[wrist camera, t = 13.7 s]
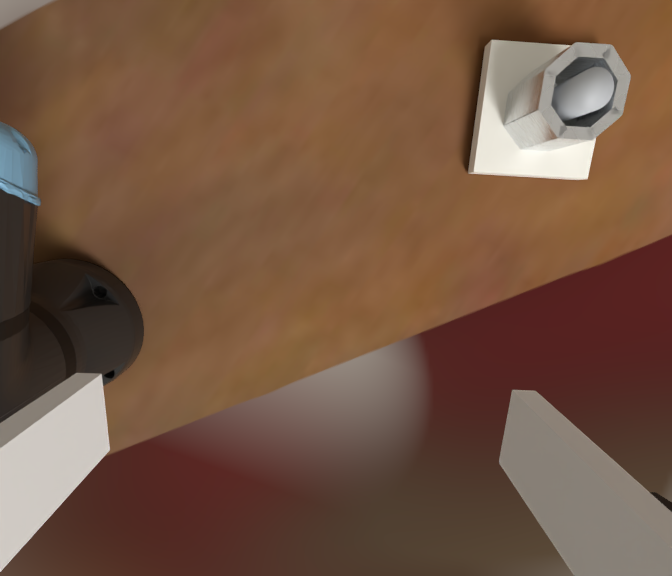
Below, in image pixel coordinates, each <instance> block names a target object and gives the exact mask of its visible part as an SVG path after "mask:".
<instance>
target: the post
mask: <svg viewBox="0 0 672 576" xmlns="http://www.w3.org/2000/svg"><path fill="white" fill-rule="evenodd" d="M569 46H571V45H558V44H545V43H531V42H517V41H503V40H491V41H490V42H489V43H488V44H487V45H486V46H485V50H484V57H483V65H482V72H481V79H480V87H479V94H478V102H477V109H476V117H475V124H474V132H473V139H472V147H471V154H470V162H469V169H468V173H469V174H486V175H502V176H519V177H536V178H552V179H569V180H582V179H587V178H588V174H589V169H590V164H591V159H592V154H593V150H594V145H595V140H596V138H594V139H593V140H591V141H587V142H583V143H579V144H575V145H571V146H567V147H564V148H560V149H556V150H552V151H535V150H520V149H519V147H518V146H517V145H516V143H515V142H514V140H513V139H512V138H511V136H510V135H509V133H508V132H507V131H506V129H505V128H504V125H503V123H504V116H505V110H506V103H507V96H508V93H509V92H510V91H511V90H512V89H513V88H514V87H515V86H516V85H518V84H519V83H520V82H521V81H522V80H523V79H524V78H525V77H526V76H528V75H529V74H530V73H531V72H532V71H533V70H535V69H536V68H538V67H539V66H541V65H542V64H544V63H545V62H547V61H548V60H550V59H551V58H553V57H554V56H556V55H557V54H559V53H560V52H562V51H563V50H565V49H566V48H568V47H569ZM613 91H614V80H613V77H612V75H611V74H610V72H609V71H608V70H606V69H604V68H602V67H593V68H590V69H588V70H586V71H584V72H582V73H580V74H578V75H576V76H574V77H572V78H571V79H569V80H567V81H565V82H563V83H561V84H559V85H557V84H555V85H554V91H553V96H552V102H551V106H552V107H553V109H554V110H555V112H556V113H557V115H558V116H559V117H560V119H561V120H562V122H563V123H564V125H565V121H568V120H571V119H574V118H576V117H579V116H582V115H585V114H587V113H590V112H593V111H596V110H598V109H600V108H602V107H604V106H605V105H606V104H607V103H608V102H609V100H610V99H611V97H612V94H613Z"/></svg>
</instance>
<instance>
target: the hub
mask: <svg viewBox="0 0 672 576" xmlns="http://www.w3.org/2000/svg"><path fill="white" fill-rule="evenodd" d="M593 67H602V68H604V69H606V70H608V71H609V72H610V74H611V75H612V77H613V80H614V91H613V94H612V97H611V99H610V100H609V102H608V103H607V104H606V105H605V106H604V107H602V108H600V109H598V110H596V111H593V112H590V113H587V114H585V115H582V116H579V117H576V118H574V119H571V120H568V121H565V125H564V123H563V122H562V120H561V119H560V117H559V116H558V115H557V113H556V112H555V110H554V109H553V107H552V106H551V102H552V96H553V91H554V85H555V84H557V85H559V84H561V83H563V82H565V81H567V80H569V79H571V78H572V77H574V76H576V75H578V74H580V73H582V72H584V71H586V70H588V69H590V68H593ZM630 78H631V76H630V73H629V72H628V70H627V68H626V67H625V65H624V63H623V62H622V60H621V59H620V57H619V55H618V54H617V52H616V50H615V49H614V47H613V45H612V46H611V45H609V44H595V43H582V42H576V43H574V44H572V45H571V46H569V47H568V48H566V49H565V50H563V51H562V52H560V53H559V54H557V55H556V56H554V57H553V58H551V59H550V60H548V61H547V62H545V63H544V64H542V65H541V66H539V67H538V68H536V69H535V70H533V71H532V72H531V73H530V74H529V75H528V76H526V77H525V78H524V79H523V80H522V81H521V82H520V83H519V84H518V85H516V86H515V87H514V88H513V89H512V90H511V91H510V92H509V93H508V96H507V103H506V110H505V116H504V123H503V125H504V128H505V129H506V131H507V132H508V133H509V135H510V136H511V138H512V139H513V140H514V142H515V143H516V145H517V146H518V147H519V149H520V150H535V151H552V150H556V149H560V148H564V147H567V146H571V145H575V144H579V143H583V142H587V141H591V140H593V139H594V138H596V137H597V136H598V135H599V134H600V133H602V132H603V131H604V130H605V129H606V128H608V127H609V126H610V125H611V124H612V123H614V122H615V121H616V120H617V119H618V118H619V117H621V116H622V114H623V110H624V105H625V101H626V96H627V92H628V87H629V83H630Z"/></svg>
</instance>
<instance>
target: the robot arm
mask: <svg viewBox="0 0 672 576" xmlns="http://www.w3.org/2000/svg"><path fill="white" fill-rule="evenodd" d="M37 163H38V160H37V154H36V151H35V149H34V147H33V145H32V144H31V142H30V141H29V140H28V139H27V138H26V137H25V136H24V135H23V134H22V133H20V132H19V131H18V130H16V129H14V128H13V127H11V126H9V125H7V124H4V123H2V122H0V571H1V570H2V569H3V568H4V567H5V566H6V565H7V564H8V562H10V560H11V559H12V558H13V557H14V556H15V555H16V554H17V552H19V550H20V549H21V548H22V547H23V546H24V545H25V544H26V543H27V541H28V540H29V539H30V538H31V537H32V536H33V535H34V534H35V533H36V531H37V530H38V529H39V528H40V527H41V526H42V525H43V523H45V522H46V520H47V519H48V518H49V517H50V516H51V515H52V514H53V513H54V511H55V510H56V509H57V508H58V507H59V506H60V505H61V504H62V503H63V501H64V500H65V499H66V498H67V497H68V496H69V495H70V494H71V493H72V491H73V490H74V489H75V488H76V487H77V486H78V485H79V484H80V483H81V481H82V480H83V479H84V478H85V477H86V476H87V475H88V474H89V473H90V471H91V470H92V469H93V468H94V467H95V466H96V465H97V464H98V463H99V461H100V460H101V459H102V458H103V457H104V456H105V455H106V454H107V453H108V451H109V450H110V447H109V438H108V428H107V419H106V409H105V400H104V391H103V386H104V385H106V384H108V383H110V382H111V381H113V380H114V379H116V378H117V377H118V376H119V375H121V374H122V373H123V372H124V371H126V370H127V369H128V368H129V367H130V366H131V365H132V363H133V362H134V361H135V359H136V358H137V356H138V354H139V352H140V349H141V346H142V342H143V336H144V327H143V320H142V315H141V312H140V309H139V307H138V305H137V302H136V301H135V299H134V297H133V296H132V294H131V293H130V291H129V290H128V289H127V288H126V286H125V285H124V284H123V283H122V282H121V281H120V280H119V279H117V278H116V277H115V276H114V275H112V274H111V273H109V272H108V271H106V270H104V269H103V268H101V267H99V266H96V265H94V264H91V263H88V262H85V261H81V260H75V259H57V260H51V261H46V262H41V263H36V264H33V257H34V242H35V231H36V219H37V208H38V206H40V204H41V199H40V198H38V180H37ZM499 464H500V465H501V467H502V468H503V470H504V471H505V472H506V474H507V476H508V477H509V479H510V480H511V482H512V483H513V485H514V486H515V488H516V489H517V490H518V492H519V494H520V495H521V496H522V498H523V500H524V501H525V503H526V504H527V506H528V507H529V509H530V510H531V512H532V513H533V515H534V516H535V518H536V519H537V521H538V522H539V524H540V525H541V527H542V528H543V529H544V531H545V532H546V534H547V536H548V537H549V538H550V540H551V542H552V543H553V545H554V546H555V548H556V549H557V551H558V552H559V554H560V555H561V557H562V558H563V560H564V561H565V562H566V564H567V566H568V567H569V569H570V570H571V572H572V573H573V575H574V576H672V502H670V501H668V500H667V499H665V498H664V497H662V496H660V495H659V494H657V493H655V492H654V493H653V492H648V491H647V490H646V489H645V488H644V487H643V486H642V485H641V484H639V483H638V482H637V481H636V480H635V479H634V478H633V477H631V476H630V475H629V474H628V473H627V472H626V471H625V470H624V469H623V468H622V467H620V466H619V465H618V464H617V463H616V462H615V461H614V460H613V459H611V458H610V457H609V456H608V455H607V454H606V453H605V452H604V451H602V450H601V449H600V448H599V447H598V446H597V445H596V444H594V443H593V442H592V441H591V440H590V439H589V438H588V437H587V436H586V435H584V434H583V433H582V432H581V431H580V430H579V429H578V428H576V427H575V426H574V425H573V424H572V423H571V422H570V421H569V420H568V419H566V418H565V417H564V416H563V415H562V414H561V413H560V412H559V411H557V410H556V409H555V408H554V407H553V406H552V405H551V404H550V403H548V402H547V401H546V400H545V399H544V398H543V397H542V396H541V395H539V394H538V393H537V392H536V391H526V390H525V391H524V390H512V395H511V400H510V405H509V411H508V416H507V422H506V427H505V432H504V438H503V443H502V449H501V454H500V459H499Z"/></svg>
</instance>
